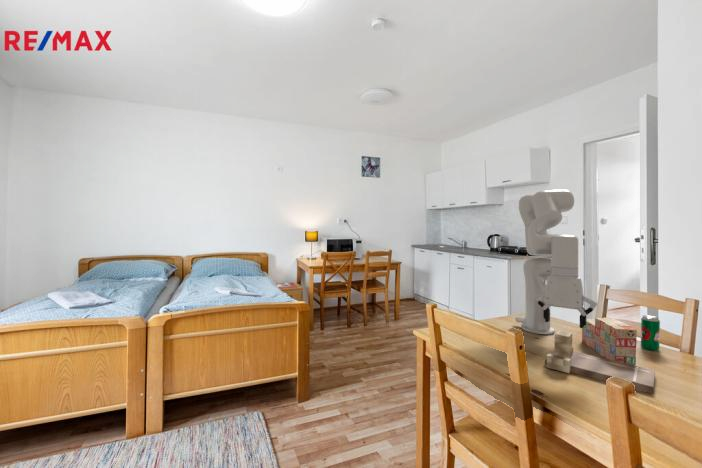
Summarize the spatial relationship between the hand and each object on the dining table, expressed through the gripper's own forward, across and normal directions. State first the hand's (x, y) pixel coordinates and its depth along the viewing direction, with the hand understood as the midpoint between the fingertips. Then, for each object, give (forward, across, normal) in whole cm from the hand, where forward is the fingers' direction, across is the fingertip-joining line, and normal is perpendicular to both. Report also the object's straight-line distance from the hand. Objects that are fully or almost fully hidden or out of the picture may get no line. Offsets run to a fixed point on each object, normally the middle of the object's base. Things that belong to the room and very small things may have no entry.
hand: (564, 324), depth 106 cm
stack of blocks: (+14, +8, +23) cm, 28 cm away
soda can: (+13, +20, +38) cm, 45 cm away
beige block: (+13, 0, 0) cm, 13 cm away
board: (+14, +9, +3) cm, 16 cm away
